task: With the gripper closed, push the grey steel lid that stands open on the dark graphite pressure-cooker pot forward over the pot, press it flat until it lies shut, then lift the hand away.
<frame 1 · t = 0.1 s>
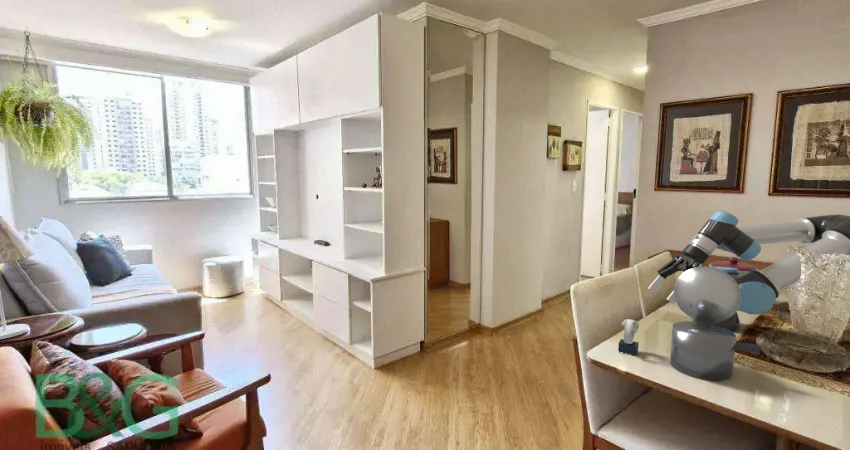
hand: (660, 296, 148), 15 cm above the table, tool tilted 35°, fingers open, 13 cm apart
watch: (628, 352, 137), on the table
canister: (730, 301, 189), on the table
cooker pot: (700, 368, 125), on the table
lid: (706, 293, 132), point 21 cm above the table, hinge at 100.0°
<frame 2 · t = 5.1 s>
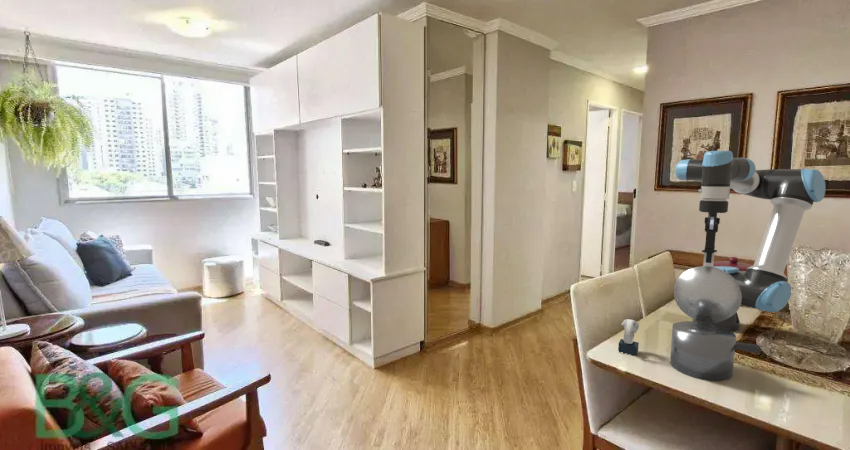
hand: (707, 271, 132), 28 cm above the table, tool pointing down, fingers closed
lid: (706, 293, 132), point 21 cm above the table, hinge at 96.5°, touching gripper
everything else where it was.
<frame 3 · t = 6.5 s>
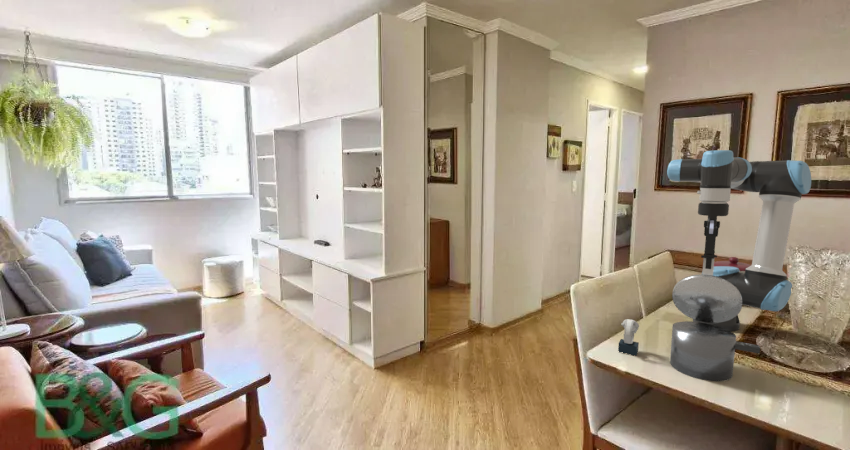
hand: (707, 278, 125), 27 cm above the table, tool pointing down, fingers closed
lid: (706, 297, 128), point 21 cm above the table, hinge at 65.2°, touching gripper
everything else where it was.
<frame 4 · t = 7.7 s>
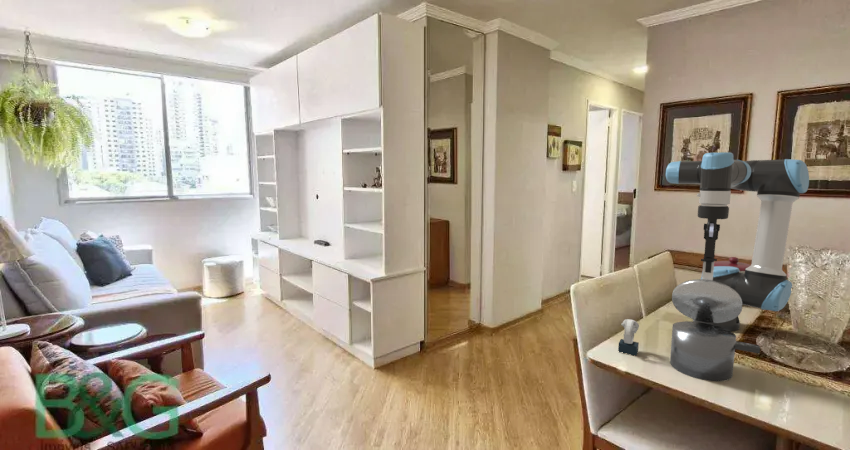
hand: (707, 282, 123), 27 cm above the table, tool pointing down, fingers closed
lid: (705, 299, 127), point 20 cm above the table, hinge at 57.2°, touching gripper
everything else where it was.
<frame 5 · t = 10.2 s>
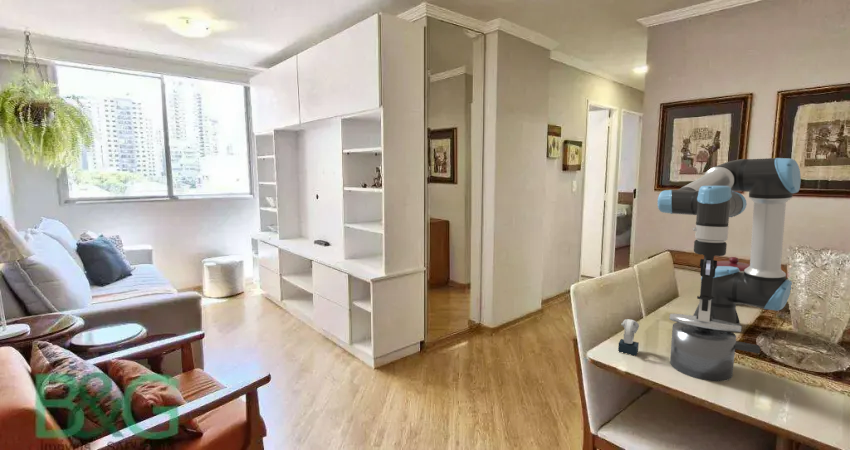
hand: (703, 320, 117), 17 cm above the table, tool pointing down, fingers closed
lid: (704, 319, 124), point 15 cm above the table, hinge at 12.2°, touching gripper
everything else where it was.
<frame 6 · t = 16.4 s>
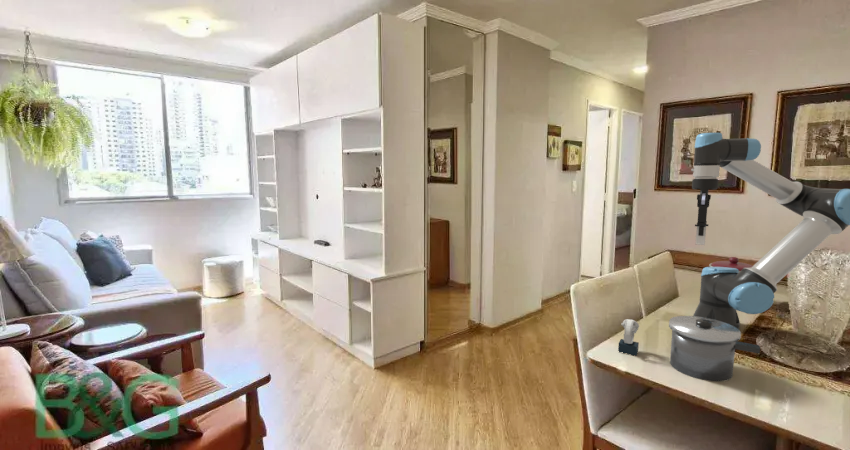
hand: (700, 244, 145), 34 cm above the table, tool pointing down, fingers closed
lid: (703, 326, 123), point 13 cm above the table, hinge at 0.0°, touching cooker pot
everything else where it was.
at the end: lid at +0° (first picture: +100°); watch moved 0.2 cm from its start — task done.
